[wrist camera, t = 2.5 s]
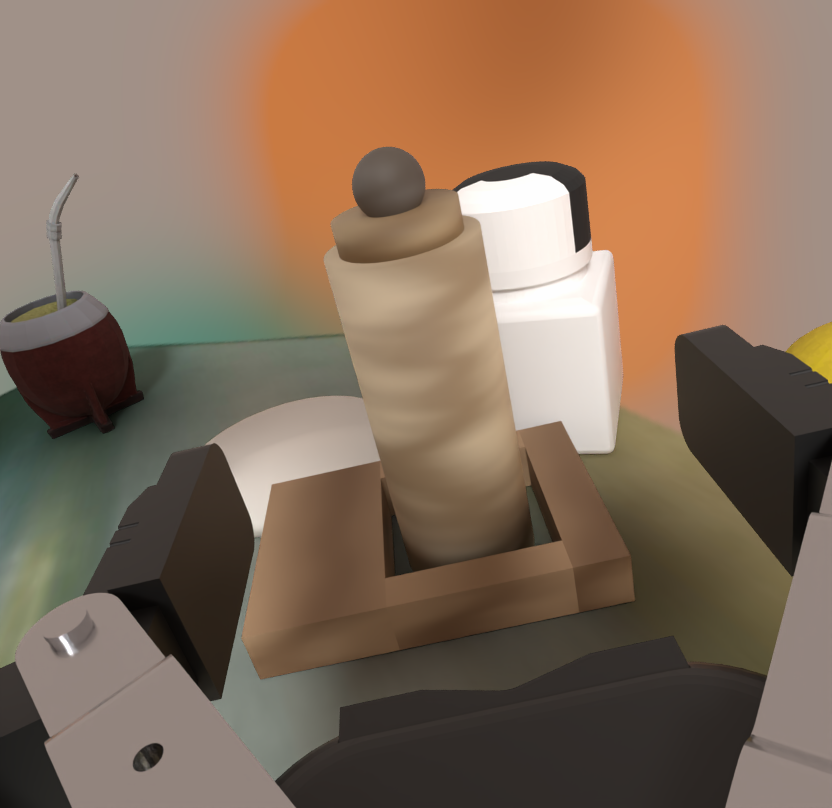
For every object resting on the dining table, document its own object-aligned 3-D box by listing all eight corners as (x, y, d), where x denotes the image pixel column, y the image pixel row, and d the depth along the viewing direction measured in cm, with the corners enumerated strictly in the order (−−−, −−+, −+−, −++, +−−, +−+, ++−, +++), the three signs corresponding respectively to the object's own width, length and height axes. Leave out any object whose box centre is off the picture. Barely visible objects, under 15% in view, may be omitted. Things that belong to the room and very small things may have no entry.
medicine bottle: (491, 384, 39) (450, 166, 34) (624, 379, 37) (604, 141, 31) (459, 458, 34) (404, 208, 28) (614, 457, 31) (588, 182, 26)
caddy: (260, 679, 24) (241, 638, 23) (285, 520, 32) (271, 484, 31) (635, 600, 24) (630, 555, 23) (566, 458, 32) (561, 420, 31)
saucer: (163, 559, 32) (154, 542, 31) (209, 435, 41) (203, 421, 41) (404, 507, 31) (399, 489, 31) (393, 394, 41) (390, 379, 40)
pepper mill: (413, 605, 26) (290, 183, 19) (405, 521, 30) (303, 154, 23) (548, 576, 26) (475, 139, 19) (520, 496, 30) (453, 119, 23)
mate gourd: (37, 423, 49) (-81, 207, 42) (147, 376, 52) (56, 169, 45) (55, 461, 43) (-78, 217, 36) (178, 405, 46) (78, 172, 39)
